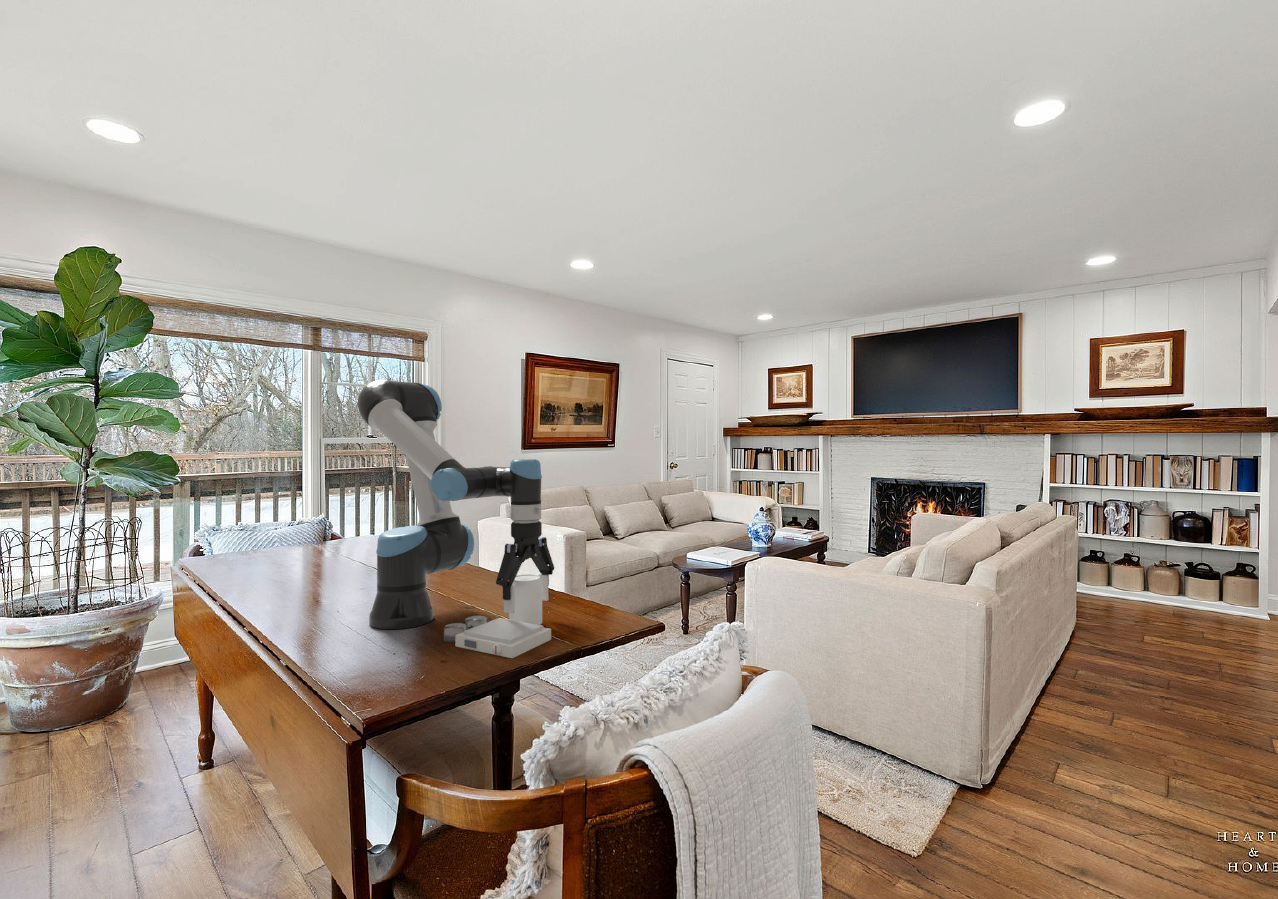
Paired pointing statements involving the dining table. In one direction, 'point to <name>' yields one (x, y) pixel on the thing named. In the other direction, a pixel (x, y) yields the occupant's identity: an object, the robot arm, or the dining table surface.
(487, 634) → the scale
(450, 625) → the spacer
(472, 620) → the spacer
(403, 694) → the dining table surface
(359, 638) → the dining table surface
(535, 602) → the beverage can
